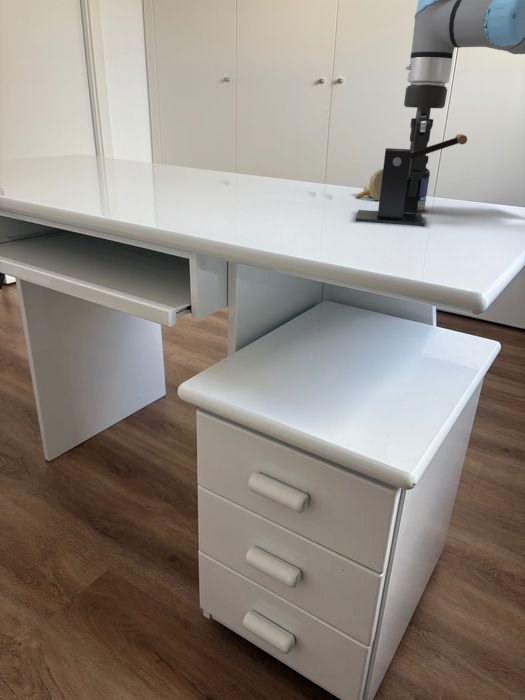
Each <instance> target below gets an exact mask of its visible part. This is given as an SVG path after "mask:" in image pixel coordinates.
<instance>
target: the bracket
mask: <svg viewBox="0 0 525 700" xmlns="http://www.w3.org/2000/svg"><path fill="white" fill-rule="evenodd" d="M383 158H384V161H383V165H382V166H383V168H382V169H383V175H382V183H381V192H380V200H379V201H378V209H377V210H368V209H358V210H357V213H356V217H355V222H356V223H357V222H359V223H373V224H383V225H384V224H386V225H399V226H415V227H424V226H425V221H424V217H423V214H422V213H403V209H404V202H405V195H406V188H407V180H408V173H409V166H410V159H411V150H410V148H392V147H390V148H389V147H385V151H384V157H383Z"/></svg>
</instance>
